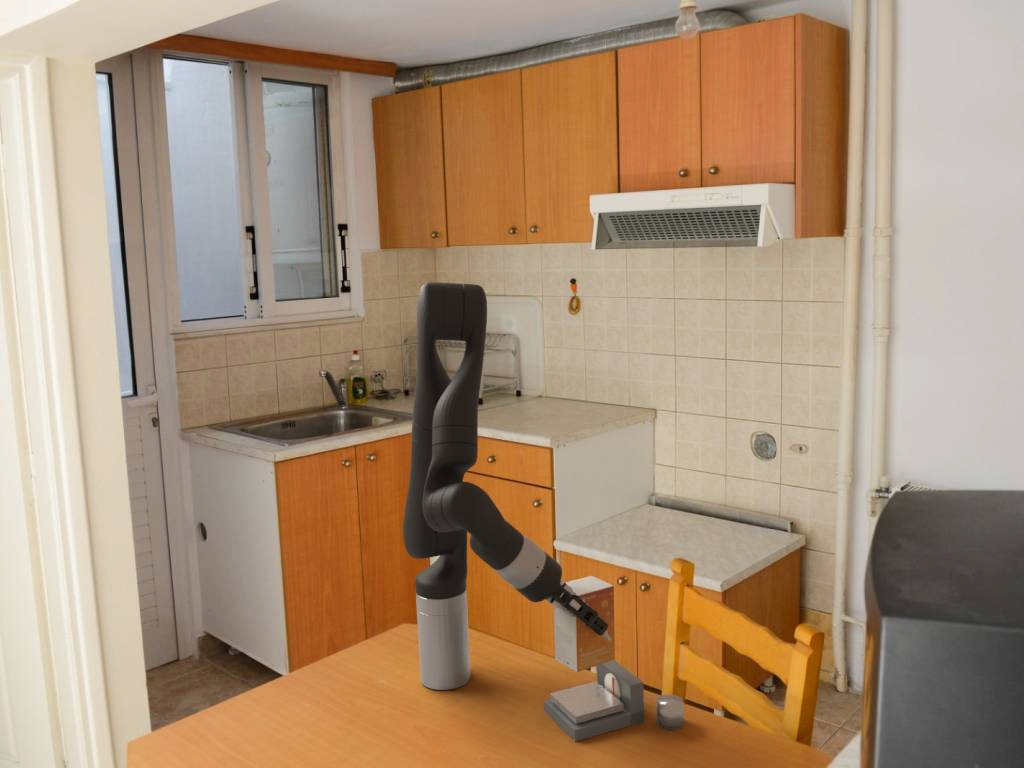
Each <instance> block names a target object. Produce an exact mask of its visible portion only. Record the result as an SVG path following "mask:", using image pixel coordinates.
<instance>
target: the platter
mask: <svg viewBox="0 0 1024 768" xmlns="http://www.w3.org/2000/svg"><path fill="white" fill-rule="evenodd" d="M549 699H550V700H551V701H552V702H553V703H554V704H555V705H556V706H557V707H558V708H559V709H560V710H562V711H563V712H564V713H565V714H566V715H567V716H568V717H569V718H570V719H571V720H572V721H573V722H574V723H575V724H577V723H581V722H584V721H588V720H592V719H595V718H599V717H602V716H606V715H609V714H613V713H616V712H620V711H623V710H624V703H622V702H621V701H620V700H619V699H617V698H616V697H615V696H614V695H613V694H611V693H610V692H609V691H608V690H606V689H605V688H604V687H603V686H602V685H600V684H599V683H598V682H597V680H595V681H591V682H587V683H584V684H580V685H576V686H572V687H569V688H565V689H562V690H558V691H554V692H551V693H549Z"/></svg>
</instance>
